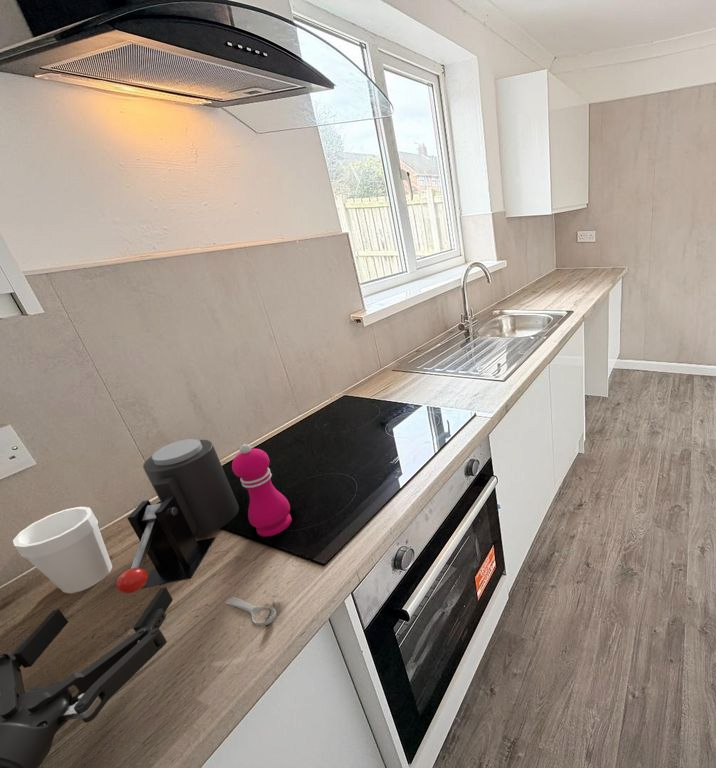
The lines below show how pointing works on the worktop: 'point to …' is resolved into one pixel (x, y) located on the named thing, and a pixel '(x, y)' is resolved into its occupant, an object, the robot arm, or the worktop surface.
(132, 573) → the red knob lever
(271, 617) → the bottle opener
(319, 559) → the worktop surface
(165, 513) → the bracket
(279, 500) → the pepper mill
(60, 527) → the foam cup
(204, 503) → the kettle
